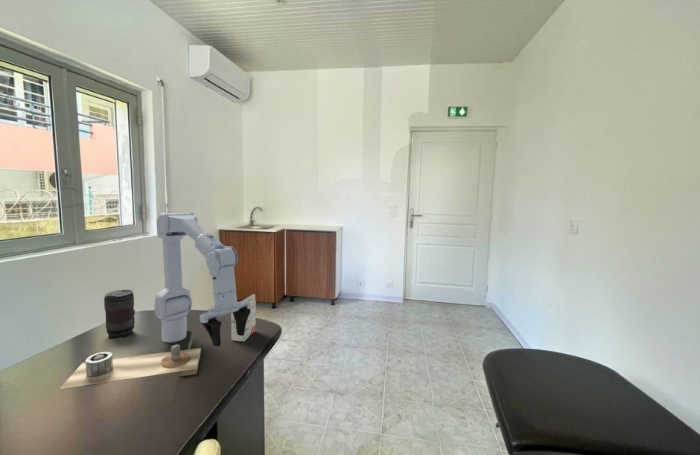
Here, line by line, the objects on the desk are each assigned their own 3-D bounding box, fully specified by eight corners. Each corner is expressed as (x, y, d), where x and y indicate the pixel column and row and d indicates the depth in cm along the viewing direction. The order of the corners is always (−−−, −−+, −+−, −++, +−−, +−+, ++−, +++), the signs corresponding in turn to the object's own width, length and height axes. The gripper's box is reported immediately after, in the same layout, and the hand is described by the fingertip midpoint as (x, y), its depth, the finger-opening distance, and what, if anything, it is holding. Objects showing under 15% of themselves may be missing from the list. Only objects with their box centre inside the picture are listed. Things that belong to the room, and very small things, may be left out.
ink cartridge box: (243, 329, 112) (244, 291, 110) (255, 331, 111) (256, 293, 109) (230, 340, 104) (230, 299, 102) (243, 342, 103) (243, 301, 101)
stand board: (82, 367, 84) (81, 347, 84) (200, 352, 95) (200, 334, 95) (59, 394, 73) (58, 372, 73) (196, 373, 84) (196, 353, 83)
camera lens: (118, 328, 108) (116, 288, 106) (140, 329, 108) (139, 289, 106) (99, 339, 100) (97, 296, 98) (123, 340, 100) (122, 297, 98)
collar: (91, 367, 82) (91, 353, 82) (115, 364, 84) (115, 350, 84) (82, 378, 77) (81, 364, 77) (108, 375, 79) (107, 360, 79)
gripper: (209, 299, 74) (214, 353, 75) (255, 286, 87) (259, 332, 87) (193, 297, 78) (198, 349, 78) (239, 285, 90) (243, 329, 91)
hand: (229, 340), depth 83 cm, fingers open, 7 cm apart
